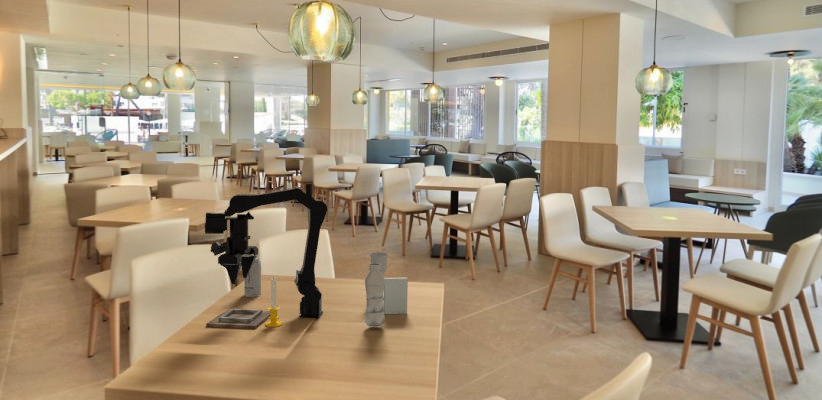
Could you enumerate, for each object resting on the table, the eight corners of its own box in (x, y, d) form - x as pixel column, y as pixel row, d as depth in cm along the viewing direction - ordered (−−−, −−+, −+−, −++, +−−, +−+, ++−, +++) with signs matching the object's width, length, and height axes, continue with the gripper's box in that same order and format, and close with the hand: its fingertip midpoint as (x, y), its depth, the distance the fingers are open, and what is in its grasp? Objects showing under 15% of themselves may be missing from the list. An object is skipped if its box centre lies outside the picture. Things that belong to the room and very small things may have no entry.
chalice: (391, 301, 204) (392, 253, 202) (381, 305, 198) (381, 256, 196) (375, 298, 207) (376, 251, 206) (365, 302, 202) (365, 254, 200)
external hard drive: (407, 313, 188) (407, 278, 187) (383, 314, 187) (384, 278, 186) (406, 312, 189) (407, 277, 188) (383, 313, 188) (383, 277, 187)
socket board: (273, 314, 185) (273, 307, 185) (255, 328, 169) (255, 322, 169) (227, 312, 186) (227, 306, 186) (206, 326, 170) (206, 319, 170)
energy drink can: (241, 297, 205) (240, 258, 204) (254, 294, 210) (253, 256, 209) (251, 300, 202) (251, 260, 201) (264, 297, 207) (264, 258, 205)
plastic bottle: (388, 324, 176) (388, 263, 174) (378, 330, 169) (378, 267, 168) (370, 321, 178) (371, 261, 177) (360, 327, 172) (360, 265, 171)
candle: (281, 326, 171) (281, 278, 170) (264, 327, 170) (264, 278, 169) (282, 322, 176) (282, 274, 175) (266, 322, 176) (265, 275, 174)
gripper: (227, 228, 185) (227, 273, 186) (201, 236, 167) (201, 286, 168) (258, 229, 184) (259, 275, 185) (236, 237, 166) (236, 288, 167)
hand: (239, 280), depth 176 cm, fingers open, 9 cm apart
